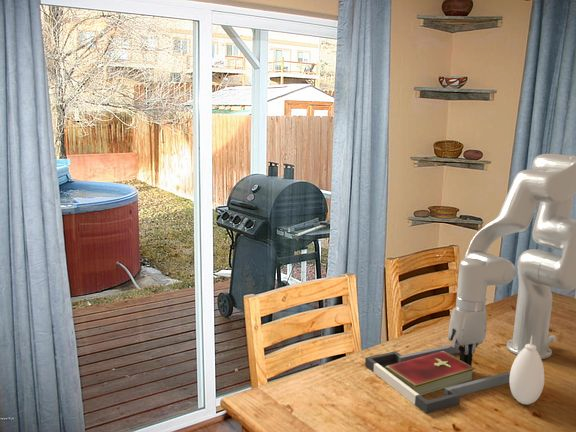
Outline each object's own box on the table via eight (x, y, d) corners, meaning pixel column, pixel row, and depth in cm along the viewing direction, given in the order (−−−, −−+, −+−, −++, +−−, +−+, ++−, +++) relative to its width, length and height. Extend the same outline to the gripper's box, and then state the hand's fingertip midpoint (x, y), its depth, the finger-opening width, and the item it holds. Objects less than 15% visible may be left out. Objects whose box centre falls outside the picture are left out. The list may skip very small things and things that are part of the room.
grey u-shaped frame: (450, 347, 164) (450, 339, 164) (519, 387, 141) (520, 378, 141) (365, 365, 151) (365, 357, 151) (426, 413, 128) (426, 404, 127)
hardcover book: (384, 378, 145) (385, 364, 144) (441, 362, 155) (442, 349, 154) (414, 399, 135) (415, 384, 134) (473, 381, 145) (475, 367, 144)
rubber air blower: (512, 391, 139) (520, 326, 136) (544, 401, 134) (553, 335, 131) (502, 403, 133) (510, 335, 130) (536, 414, 128) (544, 345, 125)
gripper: (480, 295, 152) (475, 354, 156) (439, 303, 146) (435, 364, 150) (501, 304, 146) (495, 366, 150) (459, 312, 140) (454, 376, 143)
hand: (465, 365), depth 150 cm, fingers closed
